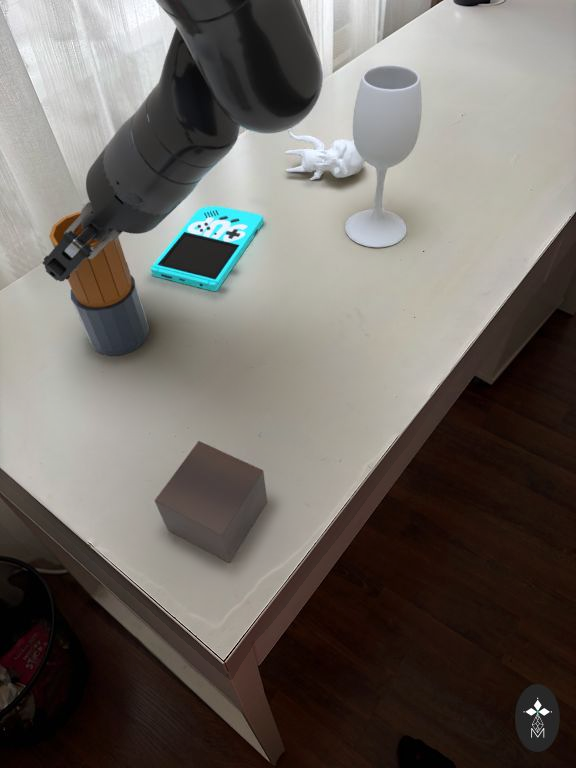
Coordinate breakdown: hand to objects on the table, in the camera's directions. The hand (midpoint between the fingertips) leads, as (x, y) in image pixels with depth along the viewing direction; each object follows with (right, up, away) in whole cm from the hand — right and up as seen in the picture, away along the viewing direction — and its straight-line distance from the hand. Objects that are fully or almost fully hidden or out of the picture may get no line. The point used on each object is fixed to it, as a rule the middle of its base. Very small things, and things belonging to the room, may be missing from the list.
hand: (79, 248), depth 63 cm
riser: (+16, -27, -6) cm, 32 cm away
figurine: (+28, +19, +31) cm, 46 cm away
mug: (+2, -7, +10) cm, 13 cm away
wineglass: (+35, +7, +21) cm, 41 cm away
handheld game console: (+12, +4, +20) cm, 23 cm away
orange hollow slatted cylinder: (+1, -4, +4) cm, 5 cm away
